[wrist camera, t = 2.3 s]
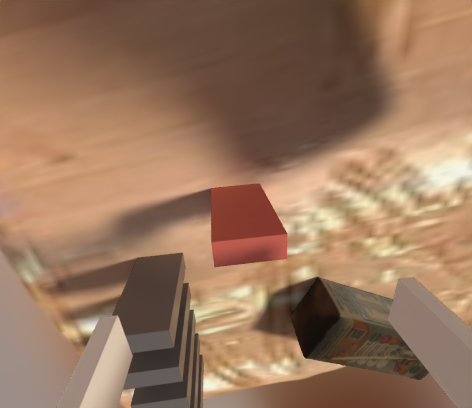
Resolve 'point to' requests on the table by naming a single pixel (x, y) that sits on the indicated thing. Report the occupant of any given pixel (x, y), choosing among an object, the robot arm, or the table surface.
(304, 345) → the beverage carton
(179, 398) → the domino
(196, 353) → the domino
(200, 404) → the domino
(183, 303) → the domino
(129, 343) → the domino
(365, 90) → the table surface
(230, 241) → the domino red
